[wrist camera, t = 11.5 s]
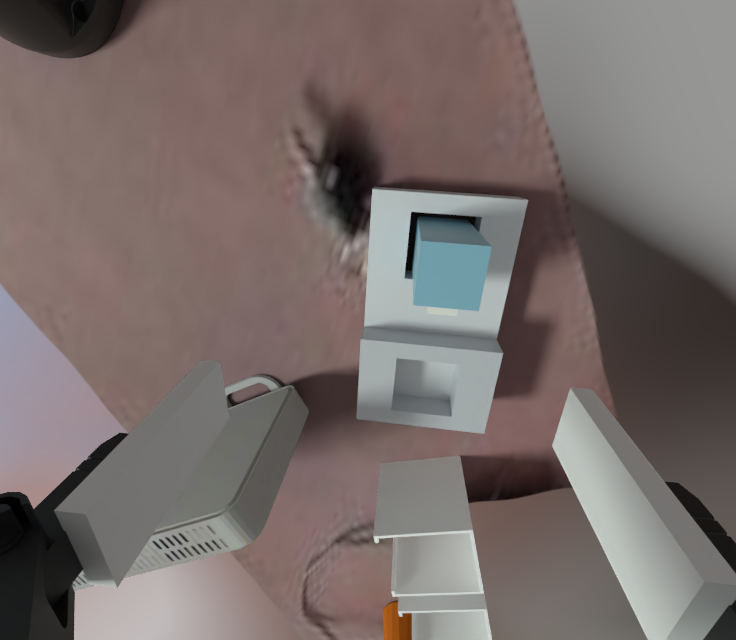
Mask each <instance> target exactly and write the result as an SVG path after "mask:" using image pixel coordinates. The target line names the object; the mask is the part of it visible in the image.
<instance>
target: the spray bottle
mask: <svg viewBox="0 0 736 640" xmlns="http://www.w3.org/2000/svg"><path fill="white" fill-rule="evenodd" d="M384 640H412V613H403V617H399V614H398V601H395V602H392V603H390V604H388V605H386V607H385V608H384Z"/></svg>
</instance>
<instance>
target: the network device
mask: <svg viewBox="0 0 736 640" xmlns="http://www.w3.org/2000/svg"><path fill="white" fill-rule="evenodd" d="M256 383H263V384H265V385H267V386H268V387H269V389H270V390H271V392H269V393H267V394H264V395H262V396H259V397H256V398H254V399H251V400H249V401H246V402H243V403H241V404H238V405H235V406H233V405H232V404H231V403H230V401H229V400H228V394H230V393H233V392H235V391H238V390H241V389H243V388H246V387H248V386H251V385H253V384H256ZM224 388H225V394H226V400H227V406H228V412H229V419H228V421H227V422H226V424H225V426H224V427H223V429H222V430H221V432H220V433H219V435H218V436H217V438H216V439H215V441H214V442H213V444H212V445H211V447H210V448H209V450H208V451H207V453H206V454H205V456H204V457H203V459H202V460H201V462H200V463H199V465H198V466H197V468H196V469H195V471H194V472H193V474H192V475H191V477H190V478H189V480H188V481H187V483H186V485H185V486H184V488H183V489H182V491H181V492H180V494H179V495H178V497H177V498H176V500H175V501H174V503H173V504H172V506H171V507H170V509H169V510H168V512H167V513H166V515H165V516H164V518H163V519H162V521H161V522H160V524H159V525H158V527H157V528H156V530H155V531H154V533H153V534H152V536H151V537H150V539H149V541H148V542H147V544H146V545H145V547H144V548H143V550H142V551H141V553H140V554H139V556H138V557H137V559H136V560H135V562H134V563H133V565H132V566H131V568H130V569H129V571H128V572H127V574H126V575H125V577H124V578H126V577H130V576H134V575H138V574H142V573H146V572H150V571H153V570H157V569H161V568H165V567H169V566H173V565H177V564H181V563H185V562H189V561H193V560H197V559H201V558H205V557H208V556H213V555H217V554H221V553H224V552H228V551H232V550H236V549H240V548H243V547H246V546H247V545H249V544H250V543H252V542H253V541H254V540H255V539H256V538H257V537H258V536H259V534H260V533H261V532H262V530H263V528H264V526H265V524H266V521H267V519H268V516H269V514H270V511H271V508H272V506H273V503H274V501H275V498H276V496H277V493H278V491H279V488H280V485H281V483H282V480H283V478H284V475H285V473H286V470H287V468H288V465H289V462H290V460H291V457H292V455H293V452H294V450H295V447H296V445H297V442H298V439H299V437H300V434H301V432H302V429H303V427H304V424H305V422H306V419H307V416H308V414H309V410H308V408H307V407H306V405H305V404H304V402H303V400H302V399H301V397H300V396H299V394H298V393H297V391H296V390H295V388H294V387H293V386H292V385H288V386H285V387H283V388H282V386H281V385H280V384H279V383H278V382H277V381H276V380H275V379H273V378H271V377H269V376H266V375H261V374H258V375H252V376H250V377H247V378H245V379H242V380H240V381H237V382H235V383H232V384H230V385H227V386H225V387H224ZM72 586H73V589H74V591H75V590H78V589H82V588H86V587H90V586H94V585H91V584H89V583H88V581H87V579H86V576H85V574H84V572H83V570H82V571H81V573H80V574H79V575H78V577H77V578H76V579H75V581H74V582H73V583H72Z"/></svg>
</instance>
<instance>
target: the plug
mask: <svg viewBox="0 0 736 640" xmlns="http://www.w3.org/2000/svg"><path fill="white" fill-rule="evenodd" d="M491 248H492V246H491V245H490V244H489V243H488V242H487V241H486V239H485V238H484V237H483V236H482V235H481V234H480V233H479V232H478V231H477V230H476V228H475V227H474V226H473V225H472V224H471V223H470V222H469V221H468V220H465V219H452V218H438V217H425V216H417V225H416V235H415V244H414V253H413V262H412V273H413V305H416V306H427V314H438V315H449V316H457V313H458V309H459V310H470V311H479V308H480V303H481V298H482V293H483V288H484V283H485V278H486V273H487V268H488V263H489V258H490V253H491Z"/></svg>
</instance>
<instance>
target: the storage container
mask: <svg viewBox="0 0 736 640" xmlns="http://www.w3.org/2000/svg"><path fill="white" fill-rule="evenodd" d="M373 537H374V540H375V543H379V538H393V557H392V582H391V592H392V595H393V597H396V596H398V614H399V617H403V613H412V640H492V636H491V630H490V625H489V619H488V613H487V607H486V601H485V595H484V590H483V585H482V578H481V572H480V567H479V561H478V555H477V549H476V544H475V538H474V532H473V527H472V521H471V515H470V509H469V504H468V498H467V492H466V487H465V481H464V475H463V469H462V464H461V458H460V456H452V457H442V458H432V459H421V460H411V461H401V462H391V463H381V464H380V470H379V481H378V491H377V502H376V513H375V524H374V534H373Z"/></svg>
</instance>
